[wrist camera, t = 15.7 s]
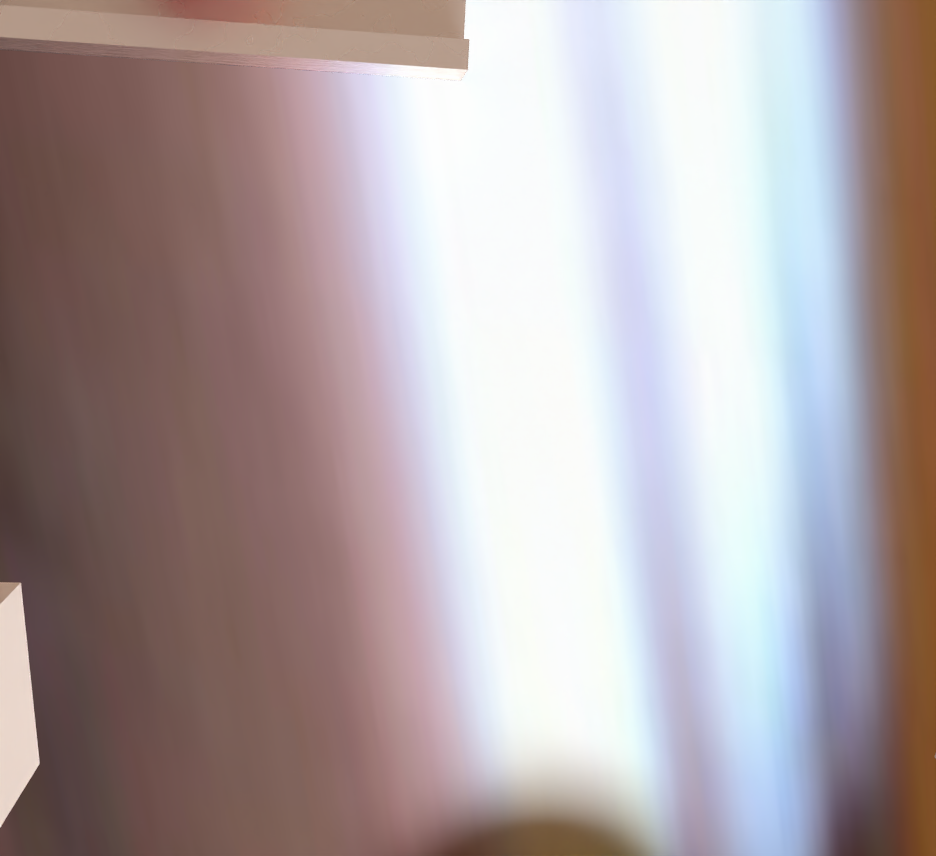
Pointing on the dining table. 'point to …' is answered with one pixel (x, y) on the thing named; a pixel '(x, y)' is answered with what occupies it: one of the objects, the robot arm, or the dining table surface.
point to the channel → (252, 33)
